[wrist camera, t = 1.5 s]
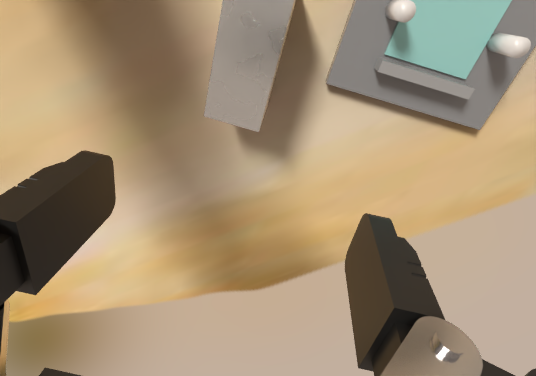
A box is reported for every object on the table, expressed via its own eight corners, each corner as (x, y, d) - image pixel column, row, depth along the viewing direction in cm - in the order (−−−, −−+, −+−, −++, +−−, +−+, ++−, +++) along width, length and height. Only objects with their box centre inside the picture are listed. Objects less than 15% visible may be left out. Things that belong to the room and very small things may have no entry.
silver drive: (222, 93, 28) (203, 116, 22) (245, -29, 23) (228, -36, 18) (267, 107, 28) (258, 132, 23) (299, -12, 23) (297, -14, 18)
